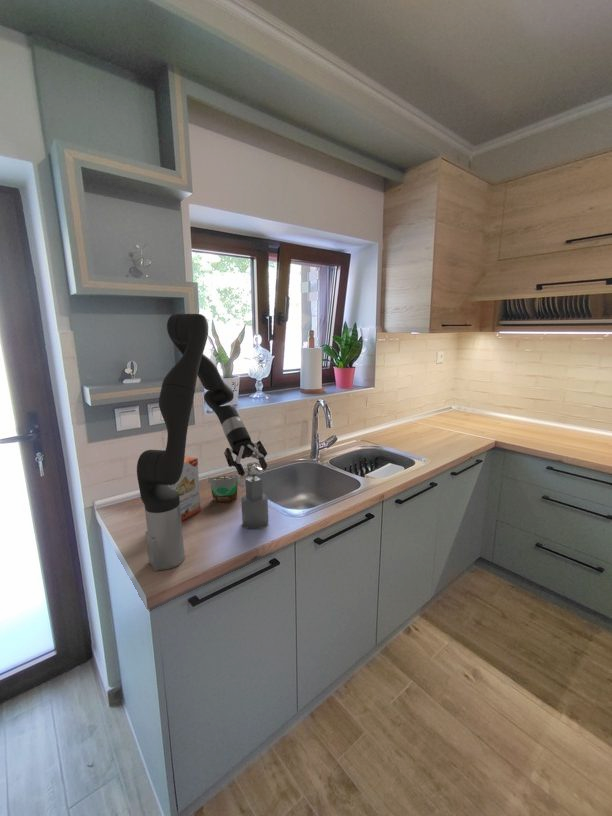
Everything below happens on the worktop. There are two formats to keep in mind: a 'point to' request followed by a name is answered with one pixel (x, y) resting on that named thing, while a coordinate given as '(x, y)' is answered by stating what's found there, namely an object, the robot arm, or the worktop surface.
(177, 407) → the robot arm
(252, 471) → the pump head
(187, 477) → the cracker box
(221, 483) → the food container
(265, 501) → the soap bottle
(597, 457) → the worktop surface
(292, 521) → the worktop surface
